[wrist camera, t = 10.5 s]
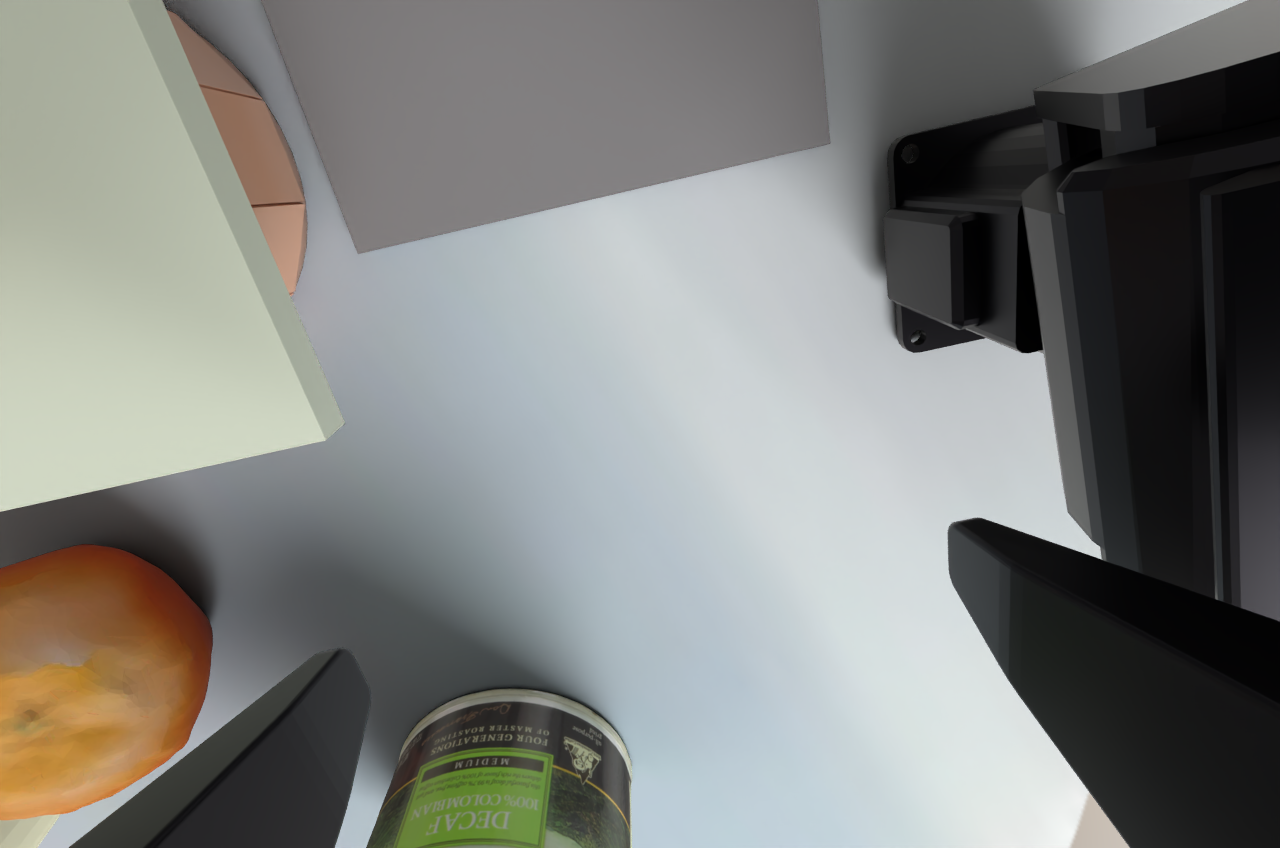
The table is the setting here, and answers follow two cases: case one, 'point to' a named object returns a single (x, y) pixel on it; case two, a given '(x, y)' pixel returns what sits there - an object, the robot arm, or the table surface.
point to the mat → (541, 100)
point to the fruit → (93, 676)
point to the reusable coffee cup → (25, 831)
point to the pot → (253, 151)
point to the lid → (131, 267)
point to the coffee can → (509, 777)
